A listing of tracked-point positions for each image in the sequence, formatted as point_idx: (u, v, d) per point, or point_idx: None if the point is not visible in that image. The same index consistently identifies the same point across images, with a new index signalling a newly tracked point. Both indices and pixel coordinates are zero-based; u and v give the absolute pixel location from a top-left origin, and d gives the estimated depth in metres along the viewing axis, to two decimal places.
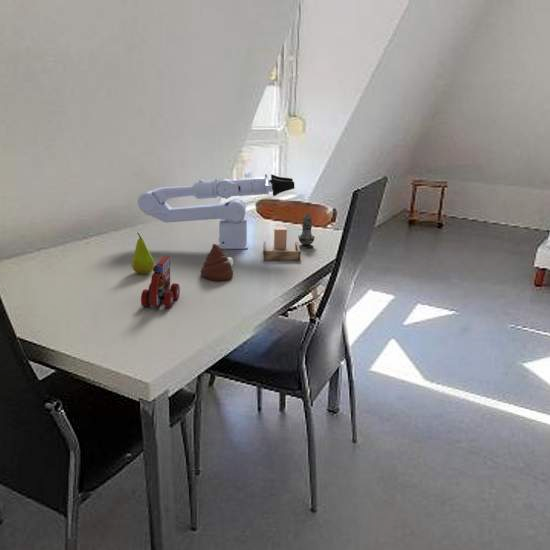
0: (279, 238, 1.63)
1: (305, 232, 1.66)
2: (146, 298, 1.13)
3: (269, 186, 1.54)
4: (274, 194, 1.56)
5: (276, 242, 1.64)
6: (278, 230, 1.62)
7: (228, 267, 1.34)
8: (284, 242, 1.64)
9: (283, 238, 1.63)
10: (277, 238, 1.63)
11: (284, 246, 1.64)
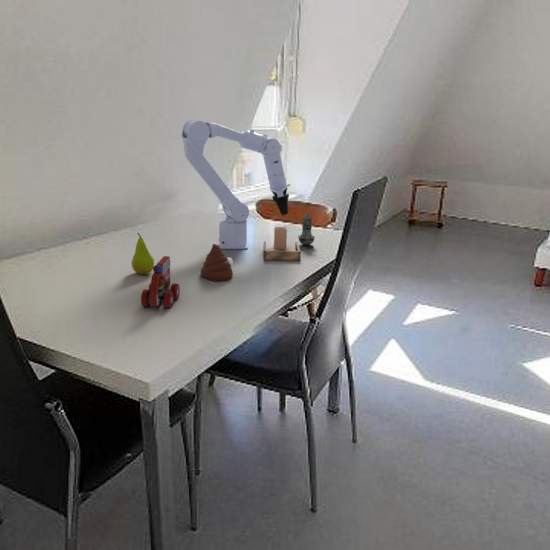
0: (279, 238, 1.63)
1: (305, 232, 1.66)
2: (146, 298, 1.13)
3: (282, 194, 1.61)
4: (274, 199, 1.63)
5: (276, 242, 1.64)
6: (278, 230, 1.62)
7: (228, 267, 1.34)
8: (284, 242, 1.64)
9: (283, 238, 1.63)
10: (277, 238, 1.63)
11: (284, 246, 1.64)
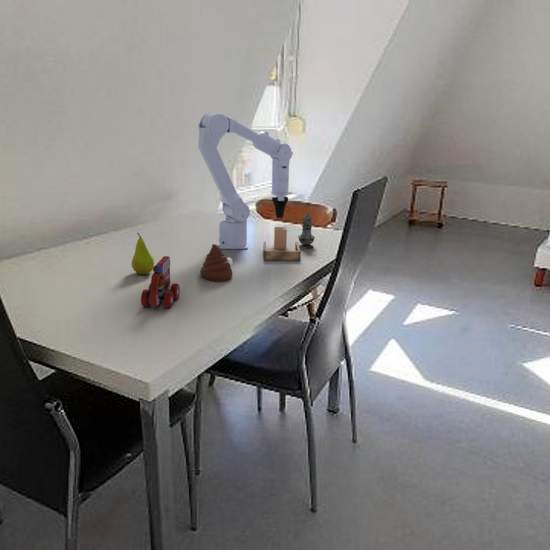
0: (279, 238, 1.63)
1: (305, 232, 1.66)
2: (146, 298, 1.13)
3: (282, 198, 1.63)
4: (273, 200, 1.68)
5: (276, 242, 1.64)
6: (278, 230, 1.62)
7: (227, 267, 1.34)
8: (284, 242, 1.64)
9: (283, 238, 1.63)
10: (277, 238, 1.63)
11: (284, 246, 1.64)
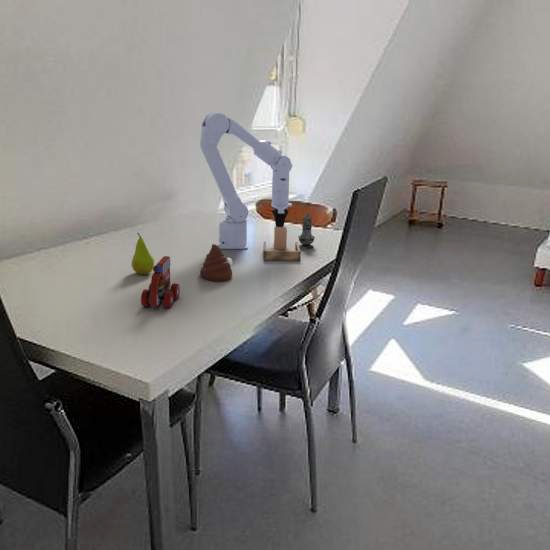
0: (279, 238, 1.63)
1: (305, 232, 1.66)
2: (146, 298, 1.13)
3: (283, 211, 1.61)
4: (273, 212, 1.66)
5: (276, 242, 1.64)
6: (278, 230, 1.62)
7: (227, 267, 1.34)
8: (284, 242, 1.64)
9: (283, 238, 1.63)
10: (277, 238, 1.63)
11: (284, 246, 1.64)
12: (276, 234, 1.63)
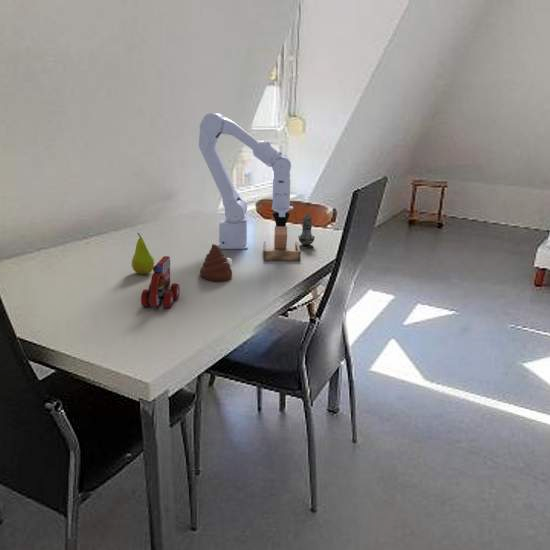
0: (279, 241, 1.62)
1: (305, 232, 1.66)
2: (146, 298, 1.13)
3: (284, 214, 1.56)
4: (274, 215, 1.61)
5: (276, 244, 1.63)
6: (278, 235, 1.60)
7: (227, 267, 1.34)
8: (284, 244, 1.63)
9: (284, 241, 1.62)
10: (277, 241, 1.61)
11: (284, 247, 1.64)
12: (276, 238, 1.61)
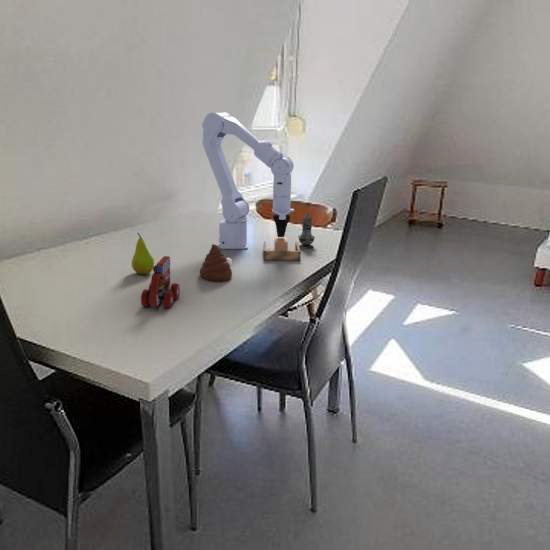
0: None
1: (305, 232, 1.66)
2: (146, 298, 1.13)
3: (284, 217, 1.52)
4: (274, 218, 1.57)
5: None
6: None
7: (227, 267, 1.34)
8: None
9: None
10: None
11: None
12: None
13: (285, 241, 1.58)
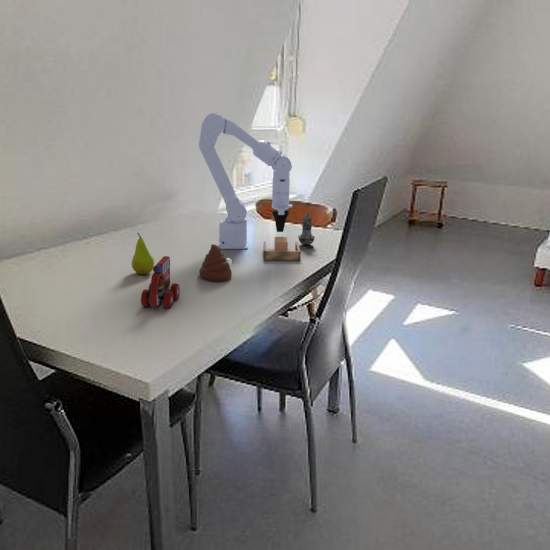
0: None
1: (305, 232, 1.66)
2: (146, 298, 1.13)
3: (283, 212, 1.59)
4: (274, 213, 1.64)
5: None
6: None
7: (227, 268, 1.34)
8: None
9: None
10: None
11: None
12: None
13: (285, 241, 1.58)
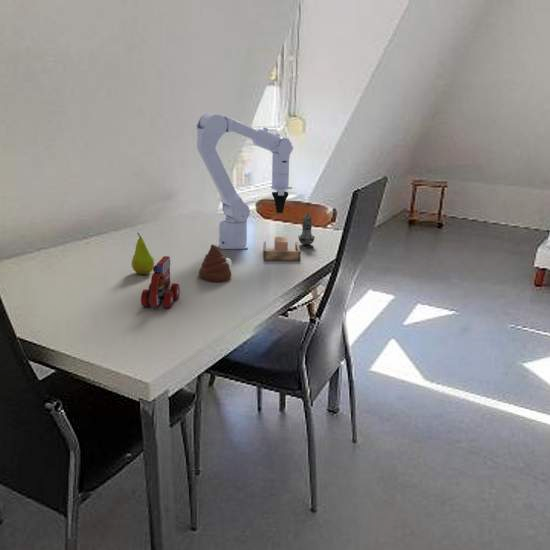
0: None
1: (305, 232, 1.66)
2: (146, 298, 1.13)
3: (283, 193, 1.62)
4: (273, 194, 1.67)
5: None
6: None
7: (226, 268, 1.34)
8: None
9: None
10: None
11: None
12: None
13: (285, 241, 1.58)
